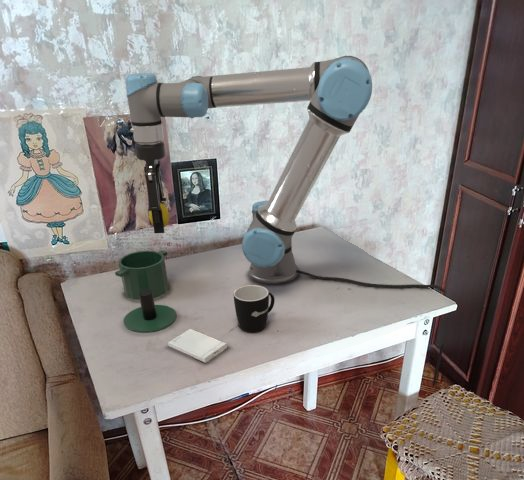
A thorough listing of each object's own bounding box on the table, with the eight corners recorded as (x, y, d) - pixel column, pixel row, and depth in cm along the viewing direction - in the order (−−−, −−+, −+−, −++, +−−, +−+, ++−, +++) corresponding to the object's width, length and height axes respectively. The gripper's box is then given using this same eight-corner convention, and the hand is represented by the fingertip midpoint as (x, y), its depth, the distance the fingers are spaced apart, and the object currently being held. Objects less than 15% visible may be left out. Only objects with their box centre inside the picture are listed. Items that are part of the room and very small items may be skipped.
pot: (183, 284, 154) (179, 253, 148) (139, 309, 142) (132, 276, 136) (154, 275, 161) (149, 244, 155) (109, 298, 148) (102, 265, 143)
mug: (250, 339, 127) (248, 304, 121) (229, 326, 132) (226, 292, 127) (285, 323, 133) (284, 289, 127) (263, 311, 139) (262, 278, 133)
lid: (187, 316, 137) (183, 288, 133) (149, 340, 128) (144, 310, 123) (151, 303, 145) (146, 276, 140) (113, 325, 135) (106, 296, 130)
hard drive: (167, 342, 124) (204, 358, 118) (190, 328, 129) (226, 342, 123) (168, 347, 125) (205, 363, 118) (191, 333, 130) (227, 347, 124)
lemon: (152, 226, 143) (148, 198, 139) (171, 225, 144) (168, 198, 139) (150, 233, 139) (145, 205, 134) (170, 232, 139) (166, 204, 134)
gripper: (139, 135, 135) (151, 218, 148) (128, 150, 120) (143, 241, 133) (166, 134, 136) (176, 217, 149) (160, 149, 120) (171, 240, 133)
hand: (160, 228), depth 141 cm, fingers closed on lemon, 5 cm apart
